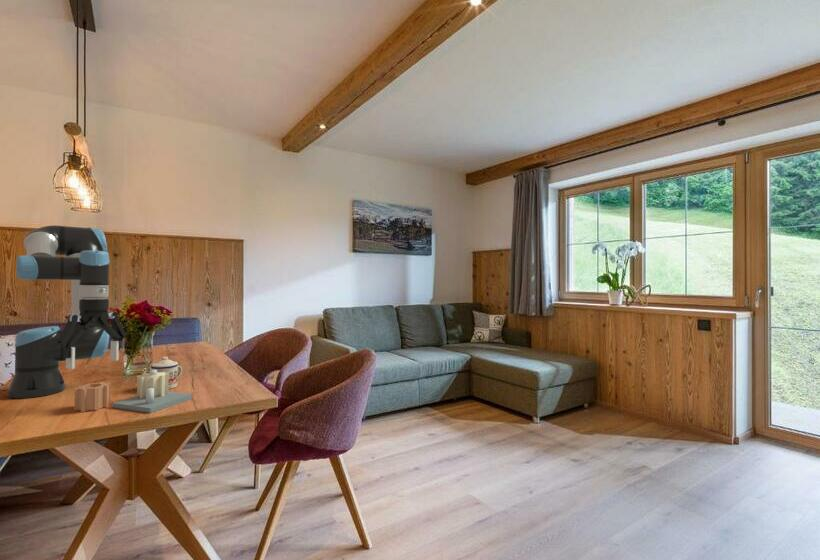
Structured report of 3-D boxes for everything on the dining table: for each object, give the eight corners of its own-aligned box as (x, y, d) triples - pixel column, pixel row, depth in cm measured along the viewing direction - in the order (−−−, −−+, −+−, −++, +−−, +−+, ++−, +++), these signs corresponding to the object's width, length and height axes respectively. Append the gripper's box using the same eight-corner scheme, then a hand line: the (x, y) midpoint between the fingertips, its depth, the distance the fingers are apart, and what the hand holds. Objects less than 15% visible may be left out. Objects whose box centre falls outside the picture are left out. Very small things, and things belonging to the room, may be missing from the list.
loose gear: (68, 410, 127) (68, 387, 127) (97, 401, 135) (97, 381, 135) (88, 413, 124) (88, 390, 124) (116, 404, 133) (116, 383, 133)
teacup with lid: (162, 391, 148) (162, 360, 148) (144, 389, 151) (144, 358, 151) (189, 384, 160) (190, 354, 159) (172, 381, 163) (173, 352, 162)
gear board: (111, 407, 130) (111, 376, 130) (155, 393, 145) (156, 366, 145) (150, 413, 125) (150, 381, 125) (192, 398, 141) (192, 370, 141)
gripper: (58, 300, 117) (58, 373, 117) (139, 297, 141) (138, 357, 141) (41, 299, 119) (40, 371, 119) (123, 296, 143) (122, 356, 143)
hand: (93, 364), depth 130 cm, fingers open, 13 cm apart
